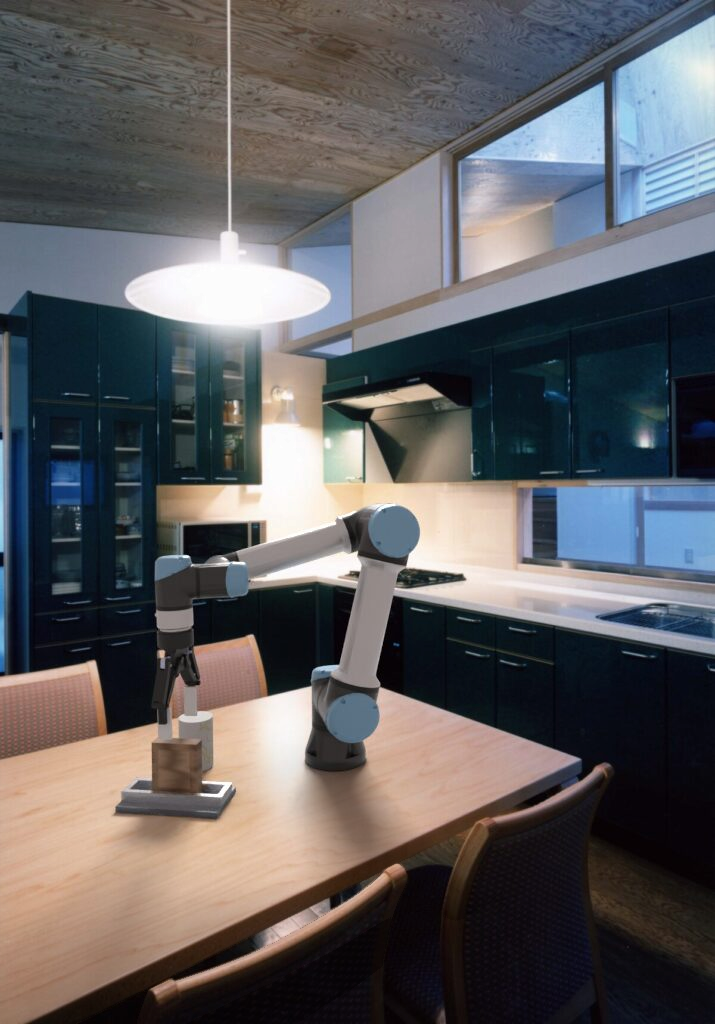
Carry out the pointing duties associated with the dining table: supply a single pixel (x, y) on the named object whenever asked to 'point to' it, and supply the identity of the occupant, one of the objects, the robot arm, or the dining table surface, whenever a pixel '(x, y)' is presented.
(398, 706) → the dining table surface
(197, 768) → the door panel
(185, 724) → the yellow-veined white cylinder
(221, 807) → the track
